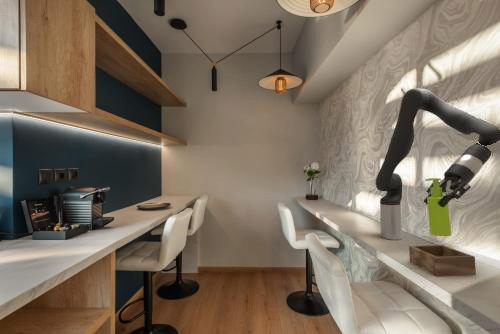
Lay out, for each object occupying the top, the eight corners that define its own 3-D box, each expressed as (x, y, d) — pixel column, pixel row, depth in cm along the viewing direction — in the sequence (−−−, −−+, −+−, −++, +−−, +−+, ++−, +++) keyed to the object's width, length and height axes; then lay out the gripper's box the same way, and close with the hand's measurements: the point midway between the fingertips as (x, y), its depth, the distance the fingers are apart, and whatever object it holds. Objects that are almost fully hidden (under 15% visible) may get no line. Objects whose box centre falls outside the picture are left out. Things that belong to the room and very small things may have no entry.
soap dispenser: (438, 231, 91) (434, 178, 92) (455, 235, 84) (450, 177, 85) (423, 232, 90) (419, 178, 92) (439, 236, 83) (434, 178, 85)
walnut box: (409, 261, 92) (409, 245, 92) (443, 260, 92) (442, 244, 93) (436, 276, 79) (435, 257, 79) (475, 275, 79) (474, 256, 80)
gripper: (439, 164, 95) (411, 195, 94) (474, 162, 81) (441, 199, 80) (453, 177, 95) (425, 208, 94) (490, 177, 81) (458, 214, 80)
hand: (433, 204), depth 87 cm, fingers closed on soap dispenser, 6 cm apart
